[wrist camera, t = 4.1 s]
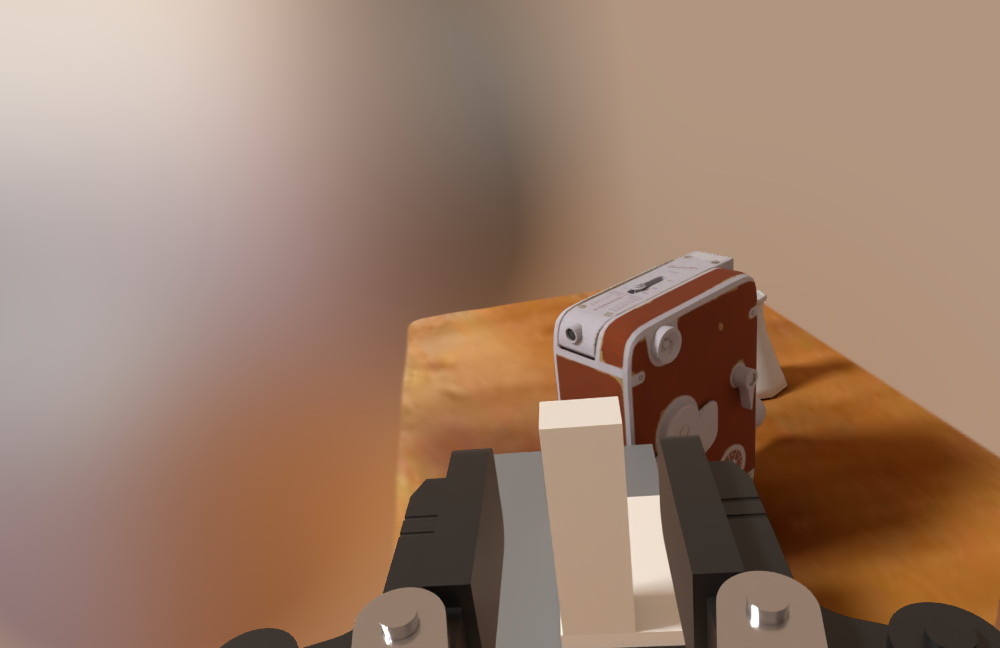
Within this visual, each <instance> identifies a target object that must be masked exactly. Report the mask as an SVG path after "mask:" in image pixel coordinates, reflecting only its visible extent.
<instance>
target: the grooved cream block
mask: <svg viewBox="0 0 1000 648" xmlns="http://www.w3.org/2000/svg"><path fill="white" fill-rule="evenodd" d="M539 435H540V444H541V452H542V461H543V469H544V478H545V486H546V495H547V503H548V512H549V520H550V529H551V537H552V546H553V554H554V563H555V571H556V580H557V588H558V597H559V605H560V627H561V643H562V648H623V647H650V646H677V645H685V641H684V636H683V631H682V626H681V621H680V617H679V612H678V607H677V602H676V597H675V592H674V587H673V583H672V578H671V573H670V568H669V563H668V558H667V553H666V549H665V544H664V538H663V532H662V524H661V514H660V496H659V495H655V496H638V497H627V488H626V472H625V457H624V442H623V426H622V419H621V413H620V406H619V400H618V396H614V397H601V398H587V399H574V400H560V401H547V402H540V409H539Z"/></svg>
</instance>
